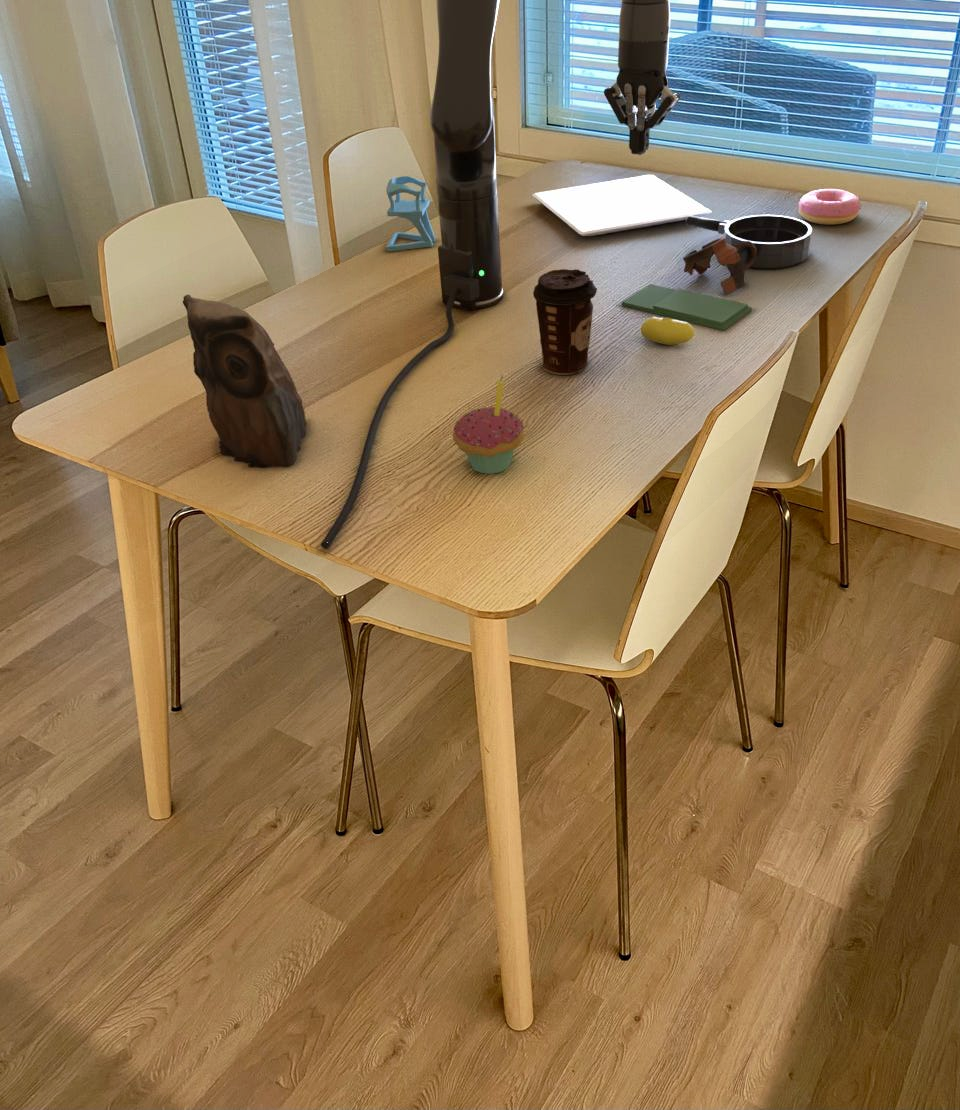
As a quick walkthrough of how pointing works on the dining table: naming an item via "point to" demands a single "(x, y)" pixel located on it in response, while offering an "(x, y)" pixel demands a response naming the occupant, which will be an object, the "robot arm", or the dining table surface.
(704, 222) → the pan handle
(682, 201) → the white rectangular board
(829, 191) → the doughnut
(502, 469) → the cupcake
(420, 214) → the chair
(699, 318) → the cloth
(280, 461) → the owl
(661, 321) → the lemon
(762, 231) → the pan
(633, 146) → the robot arm
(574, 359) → the coffee cup
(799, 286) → the dining table surface
